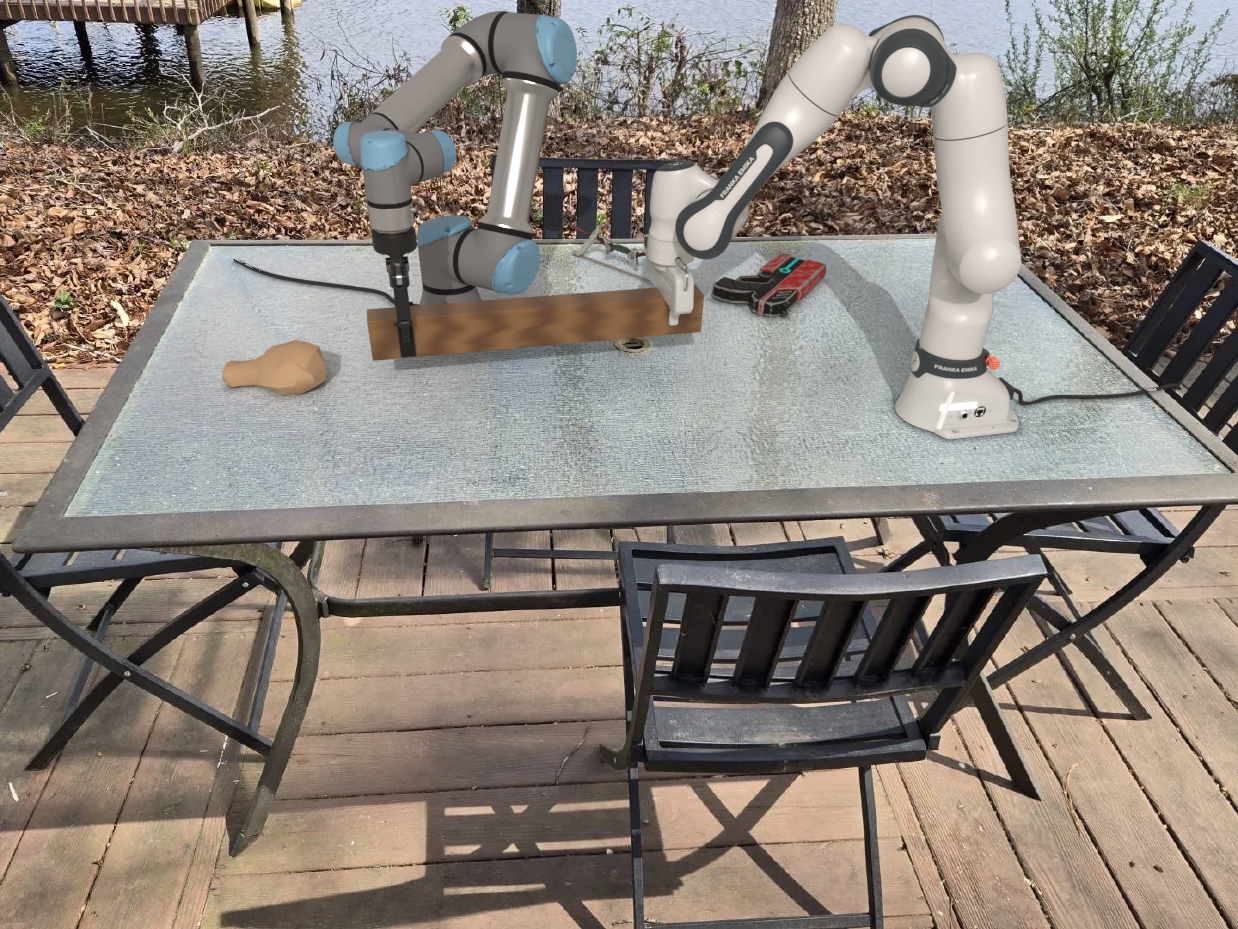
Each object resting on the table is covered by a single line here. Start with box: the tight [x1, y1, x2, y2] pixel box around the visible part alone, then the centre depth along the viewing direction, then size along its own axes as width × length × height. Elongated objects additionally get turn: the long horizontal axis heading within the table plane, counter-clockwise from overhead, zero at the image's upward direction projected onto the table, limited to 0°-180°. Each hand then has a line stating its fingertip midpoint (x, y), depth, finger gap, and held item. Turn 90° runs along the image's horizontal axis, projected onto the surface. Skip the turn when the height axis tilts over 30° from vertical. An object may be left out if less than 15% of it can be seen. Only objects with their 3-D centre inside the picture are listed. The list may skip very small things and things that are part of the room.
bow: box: [567, 223, 651, 282], centre depth 222 cm, size 39×2×10 cm, turn 47°
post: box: [366, 284, 705, 362], centre depth 168 cm, size 64×5×8 cm, turn 104°
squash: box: [221, 339, 327, 396], centre depth 168 cm, size 11×20×9 cm, turn 90°
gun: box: [711, 252, 827, 318], centre depth 215 cm, size 4×31×19 cm
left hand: (407, 348), depth 164 cm, fingers closed on post, 5 cm apart
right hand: (667, 316), depth 174 cm, fingers closed on post, 5 cm apart
